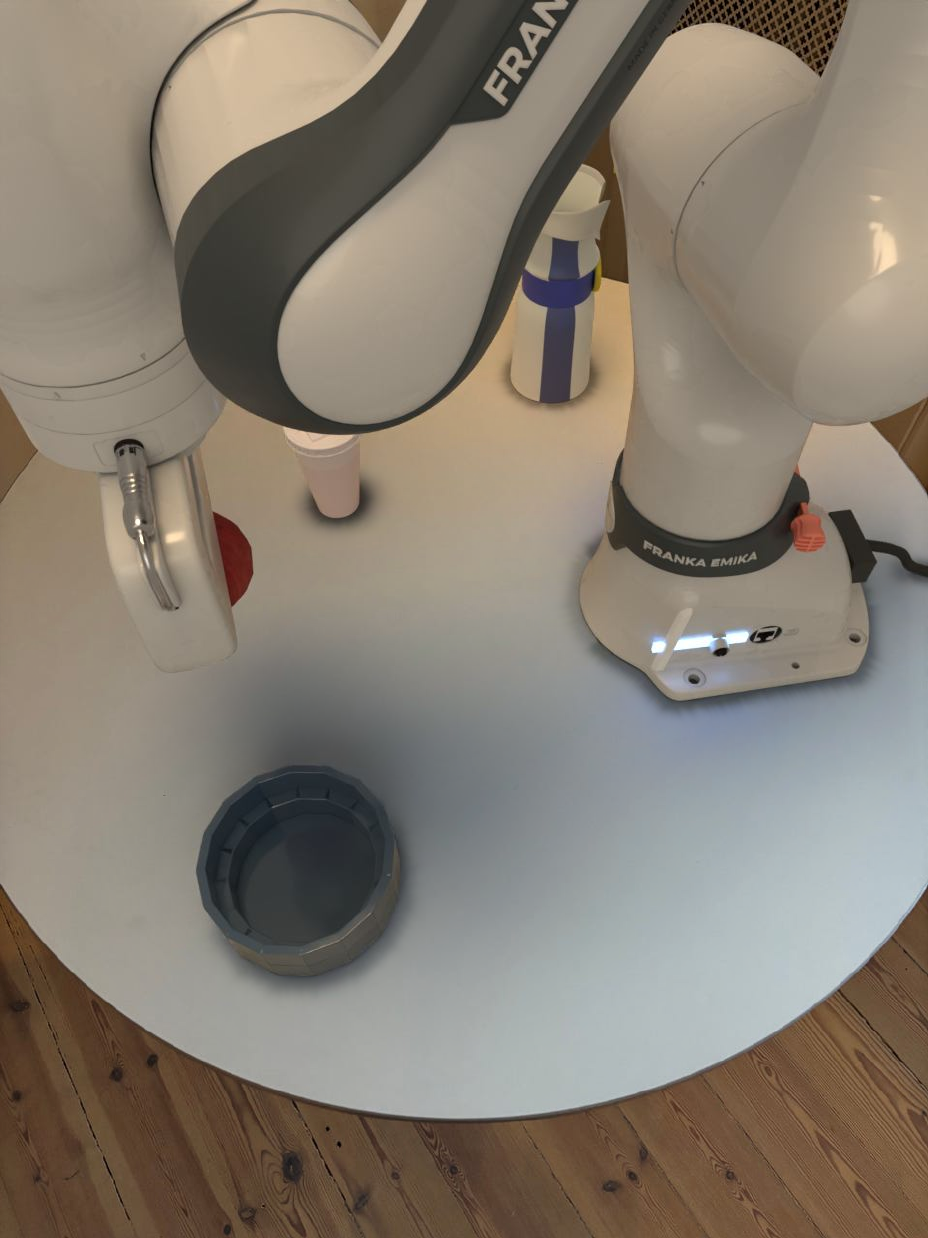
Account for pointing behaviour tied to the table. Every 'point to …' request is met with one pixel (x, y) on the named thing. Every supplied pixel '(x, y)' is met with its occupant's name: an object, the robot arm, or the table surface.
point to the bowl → (300, 869)
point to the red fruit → (234, 557)
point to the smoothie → (329, 469)
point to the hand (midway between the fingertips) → (201, 569)
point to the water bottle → (560, 296)
